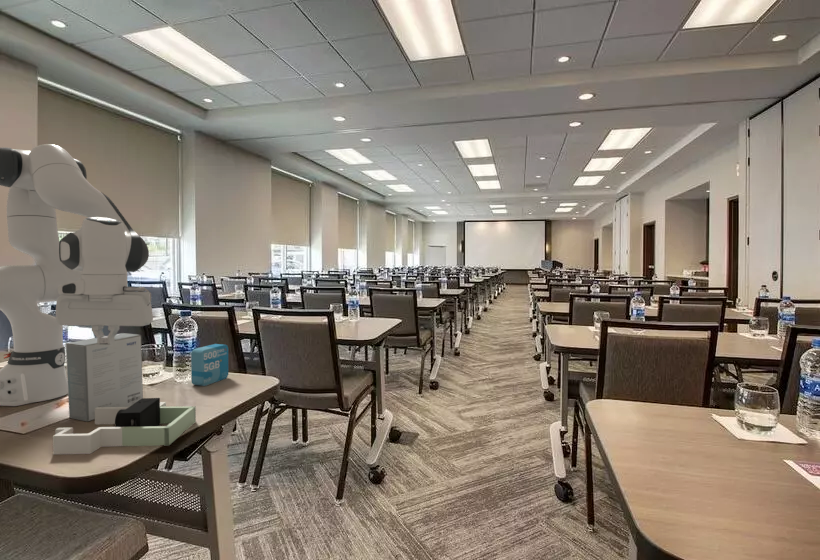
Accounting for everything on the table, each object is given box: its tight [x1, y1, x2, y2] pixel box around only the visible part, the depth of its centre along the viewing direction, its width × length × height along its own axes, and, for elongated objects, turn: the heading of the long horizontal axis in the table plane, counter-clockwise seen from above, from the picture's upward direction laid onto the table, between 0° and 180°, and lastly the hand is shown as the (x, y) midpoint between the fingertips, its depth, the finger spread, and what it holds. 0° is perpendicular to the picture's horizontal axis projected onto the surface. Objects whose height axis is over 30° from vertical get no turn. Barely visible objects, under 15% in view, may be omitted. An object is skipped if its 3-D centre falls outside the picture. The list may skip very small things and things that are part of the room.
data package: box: [190, 343, 229, 387], centre depth 144 cm, size 12×4×12 cm, turn 161°
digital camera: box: [114, 397, 161, 427], centre depth 102 cm, size 10×5×7 cm, turn 8°
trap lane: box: [52, 401, 197, 455], centre depth 102 cm, size 24×21×4 cm
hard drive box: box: [65, 332, 144, 422], centre depth 116 cm, size 16×8×20 cm, turn 159°
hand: (106, 344), depth 102 cm, fingers closed
